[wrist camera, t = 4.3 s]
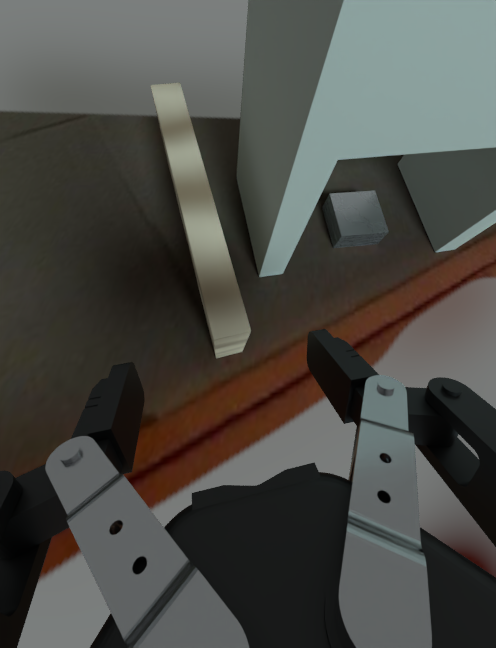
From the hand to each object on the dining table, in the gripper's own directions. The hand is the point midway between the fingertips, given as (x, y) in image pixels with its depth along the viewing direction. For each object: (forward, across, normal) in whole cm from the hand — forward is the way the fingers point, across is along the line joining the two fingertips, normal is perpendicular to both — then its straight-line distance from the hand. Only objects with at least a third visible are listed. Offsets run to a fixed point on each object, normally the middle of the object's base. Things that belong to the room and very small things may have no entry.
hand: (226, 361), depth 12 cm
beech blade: (+17, 0, -1) cm, 17 cm away
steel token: (+18, -16, -2) cm, 24 cm away
